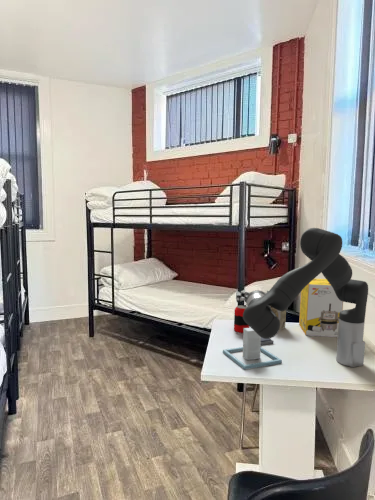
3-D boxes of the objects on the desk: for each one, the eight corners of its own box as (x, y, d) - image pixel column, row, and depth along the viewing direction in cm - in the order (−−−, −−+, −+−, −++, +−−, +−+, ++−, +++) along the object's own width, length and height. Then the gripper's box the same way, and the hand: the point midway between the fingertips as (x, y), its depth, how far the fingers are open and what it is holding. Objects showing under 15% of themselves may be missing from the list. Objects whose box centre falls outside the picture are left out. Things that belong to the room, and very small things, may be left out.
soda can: (252, 330, 181) (253, 306, 179) (243, 334, 175) (244, 310, 174) (239, 327, 186) (240, 304, 184) (230, 330, 180) (231, 306, 179)
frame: (281, 362, 143) (281, 359, 143) (244, 369, 137) (244, 366, 137) (257, 347, 159) (257, 344, 159) (222, 352, 152) (222, 349, 152)
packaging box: (331, 326, 190) (334, 279, 187) (340, 337, 174) (344, 285, 171) (299, 324, 192) (301, 277, 189) (305, 335, 176) (308, 284, 173)
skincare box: (255, 354, 151) (256, 326, 149) (260, 359, 147) (261, 330, 145) (242, 356, 149) (243, 327, 148) (246, 360, 145) (247, 331, 143)
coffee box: (263, 326, 188) (265, 295, 186) (270, 323, 192) (271, 293, 190) (279, 330, 181) (281, 299, 180) (285, 327, 186) (287, 296, 184)
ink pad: (273, 343, 164) (273, 339, 164) (256, 346, 160) (256, 342, 160) (261, 336, 172) (262, 333, 172) (245, 339, 169) (245, 335, 168)
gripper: (281, 294, 116) (276, 283, 132) (236, 292, 118) (236, 281, 134) (280, 317, 117) (275, 303, 133) (235, 314, 119) (235, 301, 135)
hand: (255, 292), depth 134 cm, fingers open, 8 cm apart
